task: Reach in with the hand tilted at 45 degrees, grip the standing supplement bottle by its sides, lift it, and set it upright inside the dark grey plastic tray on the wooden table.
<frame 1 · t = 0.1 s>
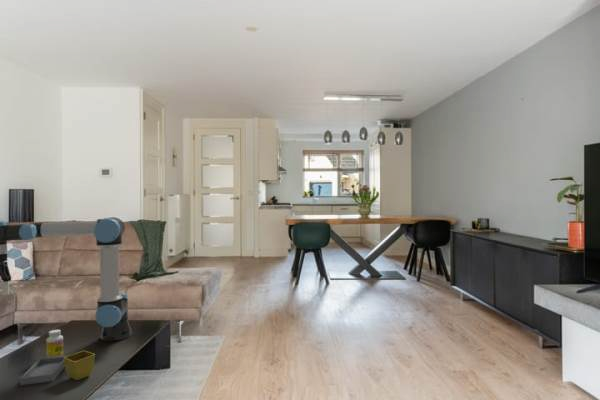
supplement bottle: (55, 359, 184), on the table
tray: (45, 372, 169), on the table
flower pot: (79, 377, 164), on the table
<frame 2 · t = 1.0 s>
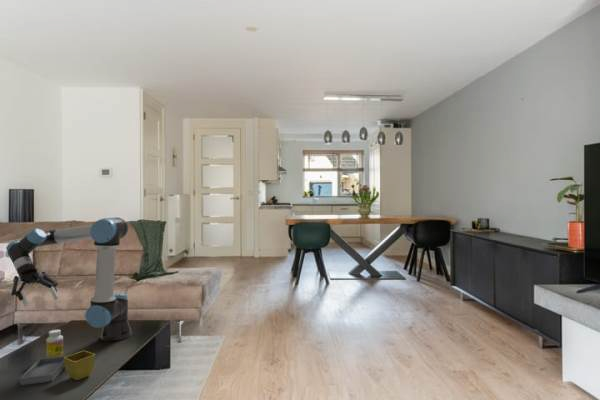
hand: (42, 301, 189), 26 cm above the table, tool tilted 45°, fingers open, 13 cm apart
nothing on the table moved.
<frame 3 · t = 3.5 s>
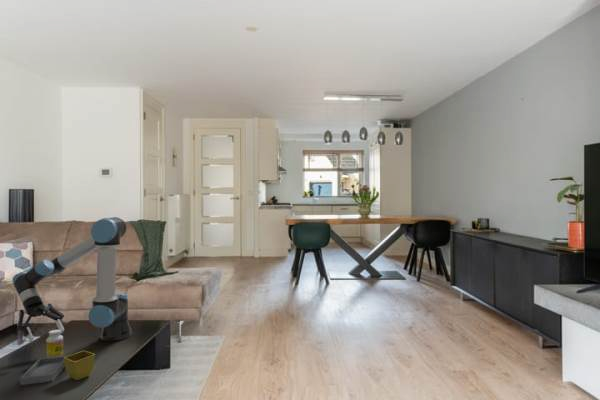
hand: (47, 335, 185), 10 cm above the table, tool tilted 45°, fingers open, 13 cm apart
nothing on the table moved.
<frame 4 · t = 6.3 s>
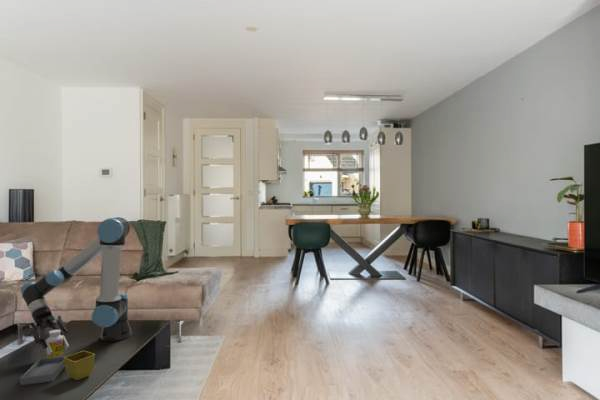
hand: (59, 350, 182), 4 cm above the table, tool tilted 45°, fingers closed on supplement bottle, 7 cm apart
supplement bottle: (55, 359, 184), on the table, touching gripper
everything else where it was.
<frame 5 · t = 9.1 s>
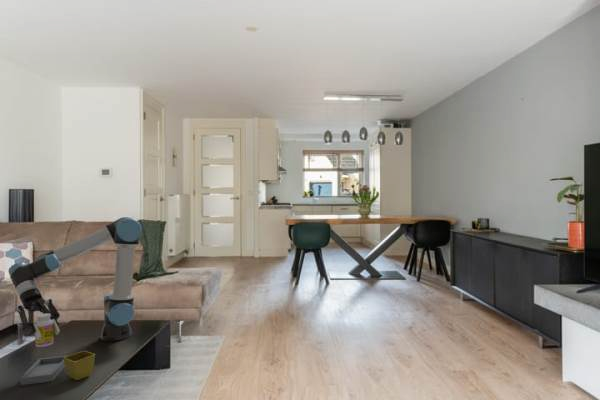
hand: (48, 335, 167), 16 cm above the table, tool tilted 45°, fingers closed on supplement bottle, 7 cm apart
supplement bottle: (44, 345, 169), point 12 cm above the table, touching gripper
everything else where it was.
when the fingers open (7 cm above the table, at t = 12.1 s): supplement bottle drops 2 cm, resting on tray.
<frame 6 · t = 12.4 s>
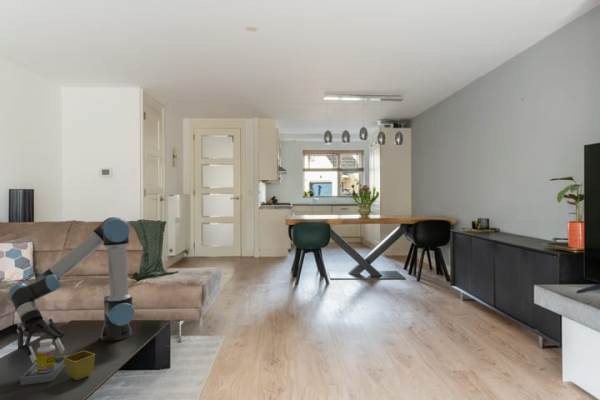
hand: (49, 356, 167), 8 cm above the table, tool tilted 45°, fingers open, 10 cm apart
supplement bottle: (46, 371, 169), point 1 cm above the table, touching tray
everything else where it was.
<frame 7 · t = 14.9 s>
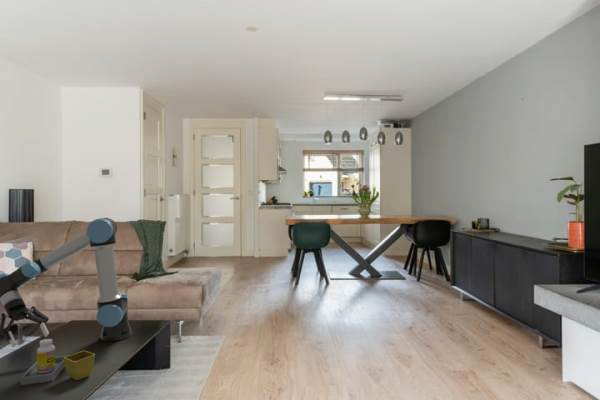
hand: (31, 340, 176), 11 cm above the table, tool tilted 45°, fingers open, 13 cm apart
nothing on the table moved.
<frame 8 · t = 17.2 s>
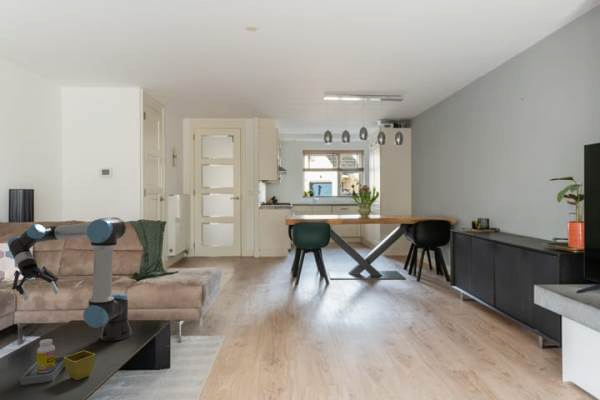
hand: (42, 295, 192), 28 cm above the table, tool tilted 45°, fingers open, 13 cm apart
nothing on the table moved.
at the end: supplement bottle inside the target area on the tray (0.2 cm from its centre), point 0.6 cm above the tray's base; supplement bottle tilted 0°; the gripper is holding nothing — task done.
